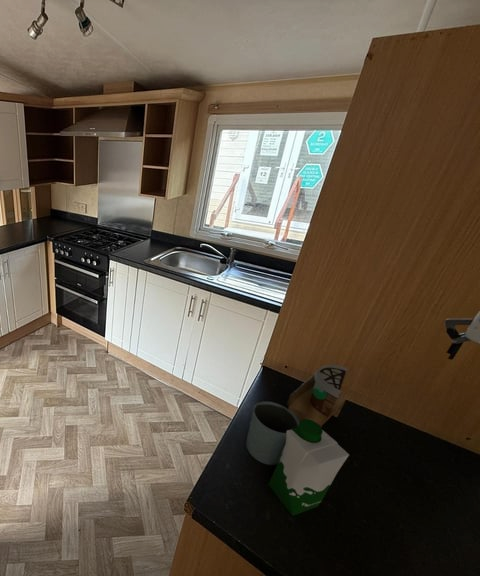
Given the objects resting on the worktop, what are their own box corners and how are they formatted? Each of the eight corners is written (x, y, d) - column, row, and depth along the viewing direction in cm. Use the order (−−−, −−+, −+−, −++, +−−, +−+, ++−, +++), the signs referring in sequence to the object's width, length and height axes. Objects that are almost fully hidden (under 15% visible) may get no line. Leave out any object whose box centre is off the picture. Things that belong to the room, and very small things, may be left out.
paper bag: (338, 415, 91) (350, 390, 87) (313, 443, 83) (325, 416, 78) (306, 397, 98) (316, 372, 93) (280, 421, 89) (289, 395, 85)
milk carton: (291, 471, 76) (317, 413, 67) (325, 510, 68) (359, 450, 59) (261, 481, 74) (284, 422, 65) (292, 522, 66) (323, 461, 57)
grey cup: (237, 450, 81) (247, 418, 75) (249, 426, 88) (259, 394, 82) (280, 476, 75) (295, 442, 70) (290, 447, 82) (303, 414, 76)
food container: (311, 384, 93) (322, 357, 88) (335, 394, 89) (348, 367, 85) (300, 407, 85) (311, 379, 80) (327, 420, 81) (340, 391, 77)
